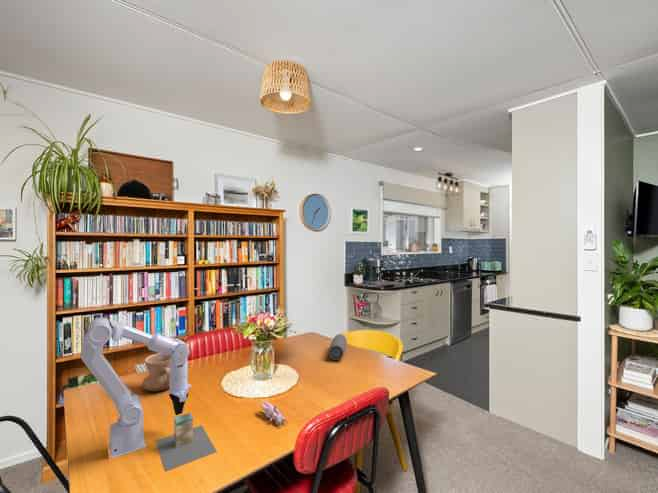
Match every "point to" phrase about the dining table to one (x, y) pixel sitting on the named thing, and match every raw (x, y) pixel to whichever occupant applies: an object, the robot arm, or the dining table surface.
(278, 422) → the rabbit figure
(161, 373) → the ceramic jug
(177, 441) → the maple block
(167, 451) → the rubber mat
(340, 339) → the bluetooth speaker
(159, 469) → the dining table surface
